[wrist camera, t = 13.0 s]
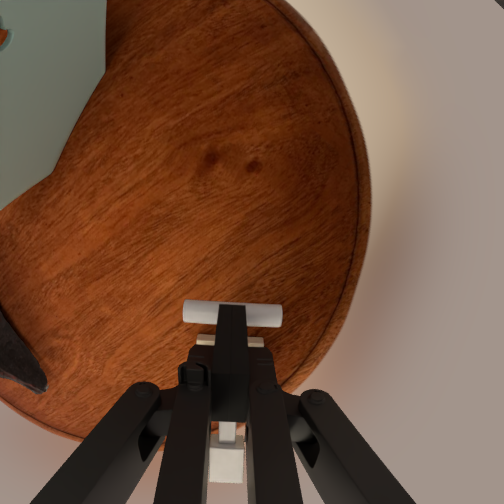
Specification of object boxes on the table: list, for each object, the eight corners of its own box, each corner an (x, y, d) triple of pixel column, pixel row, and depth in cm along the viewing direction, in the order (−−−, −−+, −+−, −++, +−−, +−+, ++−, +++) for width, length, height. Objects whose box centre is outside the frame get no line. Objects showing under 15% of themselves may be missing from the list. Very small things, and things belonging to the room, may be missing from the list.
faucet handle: (187, 299, 21) (182, 298, 18) (278, 304, 21) (284, 304, 19) (183, 463, 19) (179, 479, 16) (268, 467, 19) (272, 483, 17)
